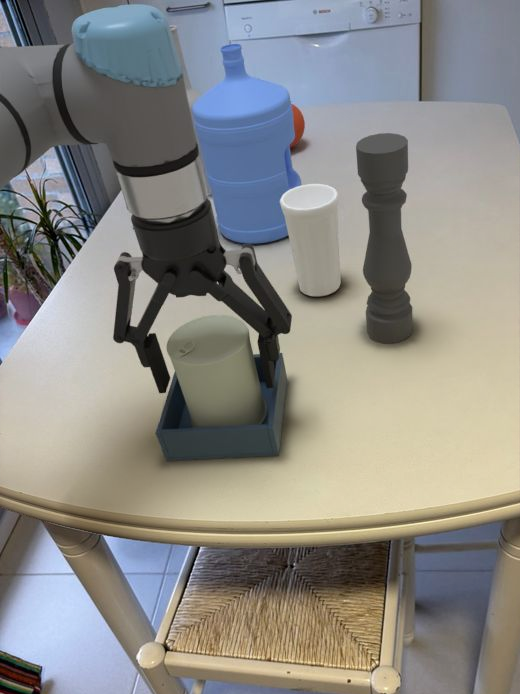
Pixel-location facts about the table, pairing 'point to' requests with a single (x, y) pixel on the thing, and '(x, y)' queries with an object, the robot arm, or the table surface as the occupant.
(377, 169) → the candle holder
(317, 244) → the cup
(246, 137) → the water jug
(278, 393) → the box
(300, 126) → the tomato
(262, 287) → the robot arm
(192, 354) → the can
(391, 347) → the table surface
